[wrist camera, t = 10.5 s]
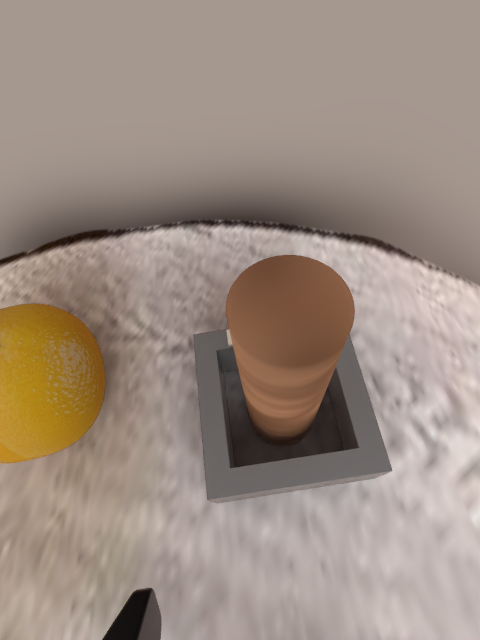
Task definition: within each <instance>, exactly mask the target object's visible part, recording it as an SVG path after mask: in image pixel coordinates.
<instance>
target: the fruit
mask: <svg viewBox="0 0 480 640" xmlns="http://www.w3.org/2000/svg"><path fill="white" fill-rule="evenodd" d="M104 392H105V371H104V364H103V359H102V355H101V352H100V349H99V346H98V344H97V342H96V340H95V338H94V336H93V335H92V333H91V332H90V330H89V329H88V328H87V327H86V325H85V324H84V323H83V322H81V321H80V320H79V319H78V318H77V317H75V316H74V315H72V314H70V313H69V312H67V311H65V310H62V309H60V308H57V307H54V306H50V305H44V304H22V305H17V306H12V307H7V308H3V309H0V463H16V462H22V461H27V460H32V459H36V458H39V457H43V456H46V455H49V454H52V453H55V452H58V451H60V450H63V449H65V448H67V447H68V446H70V445H72V444H73V443H75V442H76V441H77V440H79V439H80V438H81V437H82V436H83V435H84V434H85V433H86V432H87V431H88V430H89V429H90V427H91V426H92V425H93V423H94V421H95V420H96V418H97V416H98V414H99V412H100V409H101V406H102V402H103V398H104Z"/></svg>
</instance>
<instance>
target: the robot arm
mask: <svg viewBox="0 0 480 640" xmlns="http://www.w3.org/2000/svg"><path fill="white" fill-rule="evenodd" d="M160 639H161V613H160V610H159V606H158V603H157V599H156V596H155V592H154V590H153V589H152V588H145V589H139V590H136V591H134V592H133V593H132V595H131V596H130V598H129V599H128V601H127V602H126V604H125V605H124V607H123V608H122V610H121V611H120V613H119V615H118V616H117V618H116V619H115V621H114V622H113V624H112V625H111V627H110V628H109V630H108V631H107V633H106V635H105V636H104V638H103V639H102V640H160Z"/></svg>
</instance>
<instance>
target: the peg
mask: <svg viewBox="0 0 480 640" xmlns="http://www.w3.org/2000/svg"><path fill="white" fill-rule="evenodd" d="M354 313H355V309H354V301H353V297H352V294H351V292H350V290H349V288H348V286H347V284H346V283H345V282H344V280H343V279H342V278H341V277H340V276H339V275H338V274H337V273H336V272H335V271H334V270H333V269H331V268H330V267H328V266H327V265H325V264H323V263H321V262H319V261H317V260H314V259H311V258H308V257H303V256H296V255H282V256H275V257H270V258H267V259H264V260H261V261H259V262H257V263H255V264H253V265H252V266H250V267H249V268H247V269H246V270H245V271H244V272H243V273H242V274H241V275H239V277H238V278H237V279H236V280H235V282H234V283H233V285H232V287H231V289H230V291H229V294H228V297H227V301H226V317H227V322H228V327H229V331H230V335H231V340H232V344H233V348H234V353H235V357H236V361H237V366H238V370H239V374H240V379H241V383H242V387H243V391H244V396H245V400H246V404H247V409H248V413H249V417H250V421H251V424H252V427H253V429H254V430H255V432H256V433H257V434H258V435H259V436H260V437H261V438H262V439H264V440H265V441H267V442H269V443H271V444H275V445H290V444H293V443H296V442H298V441H300V440H301V439H302V438H304V437H305V436H306V434H307V433H308V432H309V430H310V428H311V426H312V424H313V421H314V419H315V416H316V414H317V411H318V409H319V406H320V404H321V402H322V399H323V397H324V394H325V392H326V389H327V387H328V384H329V382H330V380H331V377H332V375H333V372H334V370H335V367H336V365H337V362H338V360H339V357H340V355H341V353H342V350H343V348H344V345H345V343H346V340H347V338H348V335H349V333H350V331H351V328H352V325H353V321H354Z"/></svg>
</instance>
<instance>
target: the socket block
mask: <svg viewBox="0 0 480 640" xmlns="http://www.w3.org/2000/svg"><path fill="white" fill-rule="evenodd" d="M194 347H195V359H196V371H197V383H198V394H199V406H200V418H201V430H202V442H203V453H204V465H205V477H206V489H207V500H209V501H212V502H215V503H221V502H227V501H233V500H240V499H246V498H252V497H259V496H265V495H272V494H278V493H284V492H291V491H297V490H303V489H310V488H316V487H322V486H329V485H335V484H341V483H348V482H354V481H360V480H367V479H373V478H377V477H379V476H381V475H384V474H386V473H389V472H391V471H392V468H391V465H390V461H389V458H388V455H387V452H386V449H385V446H384V442H383V439H382V436H381V433H380V430H379V427H378V423H377V420H376V417H375V414H374V411H373V408H372V405H371V401H370V398H369V395H368V392H367V389H366V386H365V382H364V379H363V376H362V373H361V370H360V367H359V363H358V360H357V357H356V354H355V351H354V348H353V344H352V341H351V338H350V335H348V338H347V340H346V343H345V345H344V348H343V350H342V353H341V355H340V357H339V360H338V362H337V365H336V367H335V370H334V372H333V375H332V377H331V380H330V382H329V384H328V389H329V393H330V397H331V401H332V404H333V408H334V412H335V416H336V419H337V423H338V427H339V431H340V435H341V438H342V442H343V446H344V451H337V452H331V453H325V454H318V455H312V456H306V457H299V458H293V459H287V460H280V461H274V462H267V463H261V464H255V465H248V466H242V467H236V468H235V463H234V455H233V447H232V438H231V430H230V422H229V414H228V406H227V397H226V389H225V381H224V373H223V371H230V370H236V369H238V366H237V361H236V357H235V353H234V348H233V344H232V340H231V335H230V331H229V329H226V330H219V331H213V332H207V333H200V334H194Z"/></svg>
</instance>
